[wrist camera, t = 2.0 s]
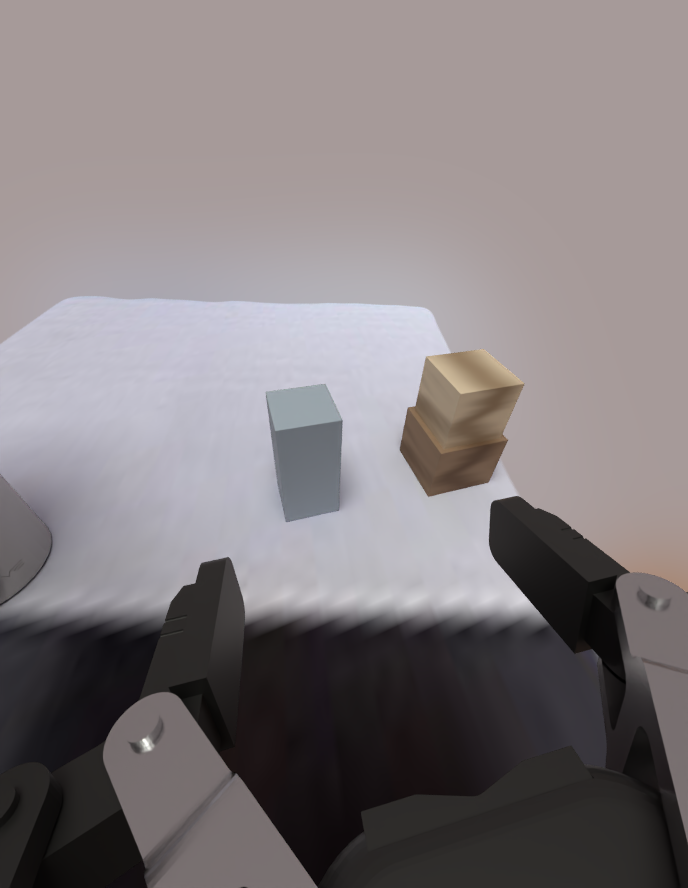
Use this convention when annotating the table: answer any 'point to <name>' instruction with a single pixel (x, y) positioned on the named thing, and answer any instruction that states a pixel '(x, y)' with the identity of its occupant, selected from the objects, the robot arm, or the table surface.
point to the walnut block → (447, 458)
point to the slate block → (306, 449)
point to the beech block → (466, 397)
